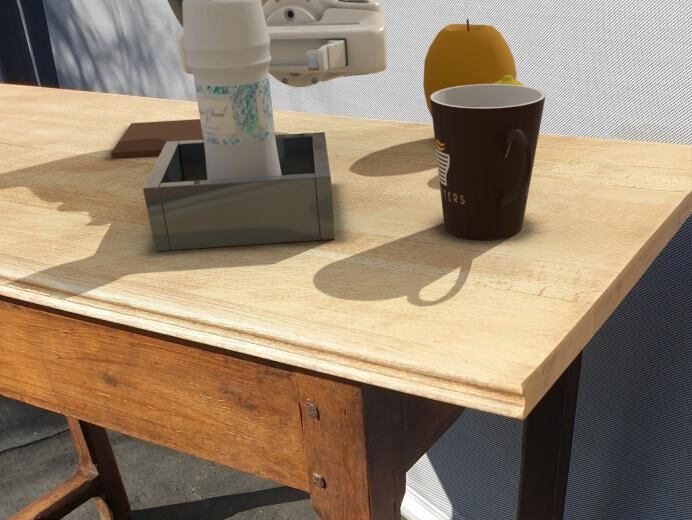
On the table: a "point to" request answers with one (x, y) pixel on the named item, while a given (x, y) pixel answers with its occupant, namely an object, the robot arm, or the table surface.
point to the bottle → (232, 86)
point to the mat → (155, 137)
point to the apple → (466, 58)
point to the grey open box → (240, 198)
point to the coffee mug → (485, 156)
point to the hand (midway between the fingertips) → (264, 62)
